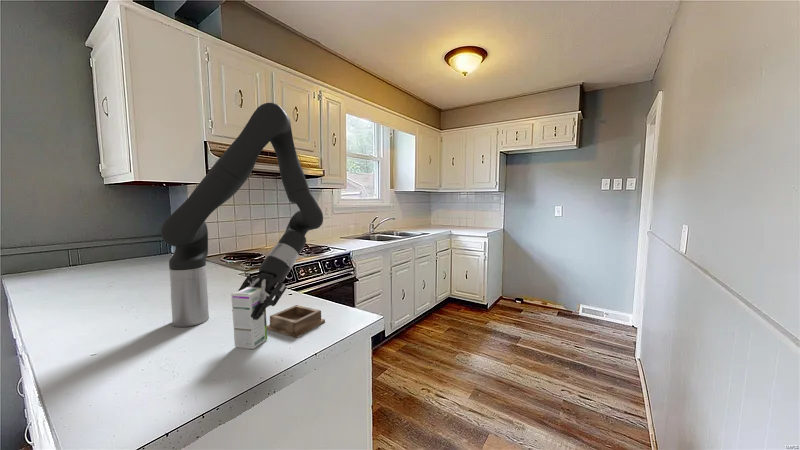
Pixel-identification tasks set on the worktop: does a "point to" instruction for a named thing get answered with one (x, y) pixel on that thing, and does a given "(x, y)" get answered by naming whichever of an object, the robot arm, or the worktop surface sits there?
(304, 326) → the walnut socket
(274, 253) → the robot arm
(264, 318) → the syrup box
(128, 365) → the worktop surface
